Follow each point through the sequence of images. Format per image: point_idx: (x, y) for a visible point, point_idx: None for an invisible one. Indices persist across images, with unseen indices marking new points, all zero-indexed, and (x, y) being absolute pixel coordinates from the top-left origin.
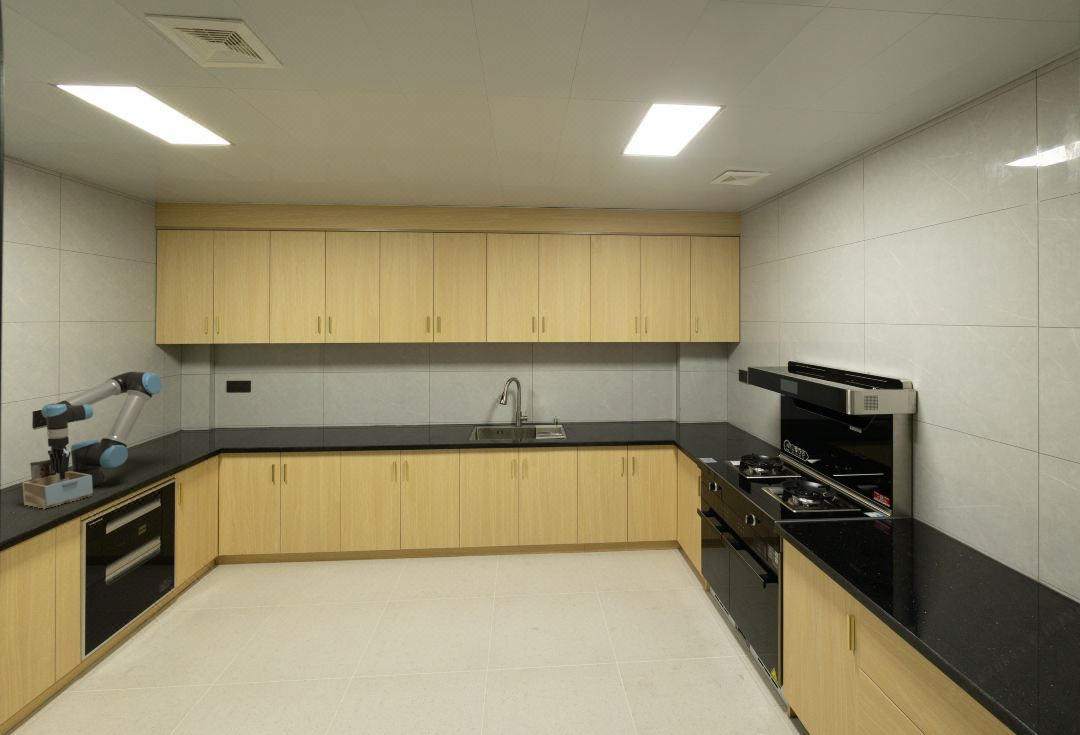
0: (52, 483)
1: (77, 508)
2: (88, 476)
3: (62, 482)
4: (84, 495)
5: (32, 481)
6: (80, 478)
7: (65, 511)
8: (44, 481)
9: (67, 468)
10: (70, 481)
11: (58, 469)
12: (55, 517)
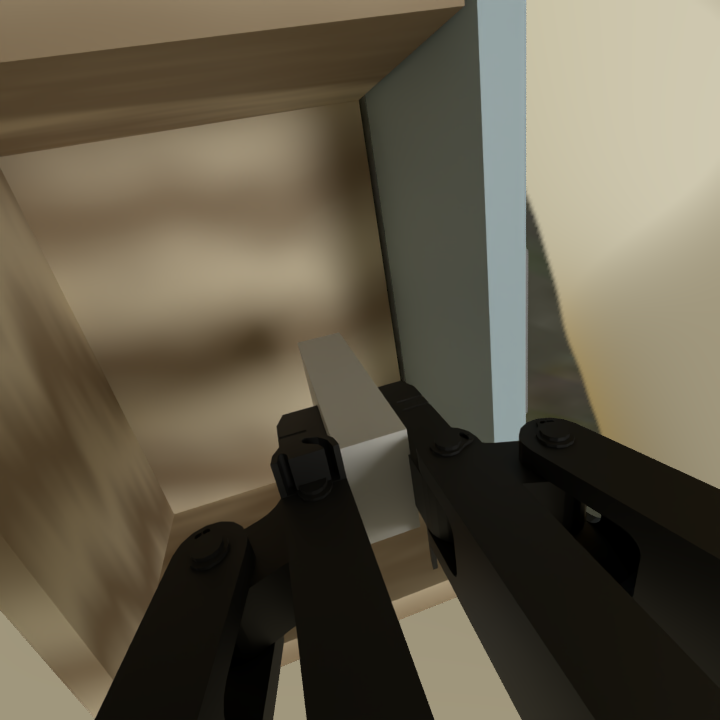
0: (25, 397)
1: (552, 300)
2: (519, 28)
3: (519, 431)
4: (364, 152)
5: (107, 656)
6: (522, 194)
7: (540, 366)
8: (51, 517)
9: (627, 466)
10: (516, 339)
11: (461, 590)
12: (585, 426)
